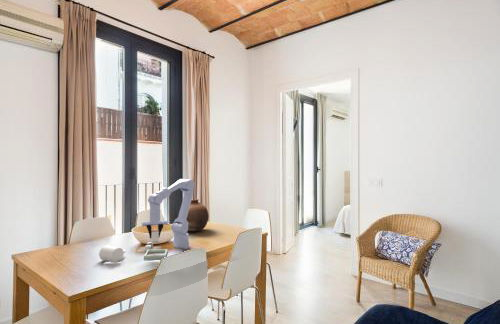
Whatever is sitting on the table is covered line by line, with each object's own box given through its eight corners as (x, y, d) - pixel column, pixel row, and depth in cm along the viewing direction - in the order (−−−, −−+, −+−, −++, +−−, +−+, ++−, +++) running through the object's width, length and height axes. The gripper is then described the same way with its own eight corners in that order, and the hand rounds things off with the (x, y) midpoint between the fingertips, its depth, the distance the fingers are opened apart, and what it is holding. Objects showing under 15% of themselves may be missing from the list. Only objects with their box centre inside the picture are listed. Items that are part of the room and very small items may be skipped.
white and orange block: (157, 240, 176) (157, 228, 176) (158, 242, 173) (158, 230, 173) (150, 241, 174) (150, 229, 174) (151, 242, 171) (151, 230, 171)
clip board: (161, 247, 188) (161, 241, 188) (159, 252, 178) (159, 246, 178) (138, 248, 186) (138, 242, 185) (135, 253, 176) (135, 246, 176)
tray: (167, 253, 178) (167, 249, 178) (165, 259, 166) (165, 255, 166) (147, 253, 176) (147, 249, 176) (143, 260, 164) (143, 256, 164)
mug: (111, 264, 157) (111, 250, 157) (98, 261, 161) (98, 247, 161) (129, 258, 168) (129, 244, 168) (117, 255, 172) (117, 241, 172)
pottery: (205, 234, 223) (206, 201, 223) (175, 234, 223) (176, 201, 223) (210, 227, 246) (210, 197, 245) (182, 227, 246) (183, 197, 246)
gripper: (166, 212, 180) (165, 234, 180) (141, 214, 174) (140, 237, 174) (168, 214, 174) (168, 237, 174) (142, 216, 167) (142, 240, 167)
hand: (154, 237), depth 173 cm, fingers closed on white and orange block, 4 cm apart
